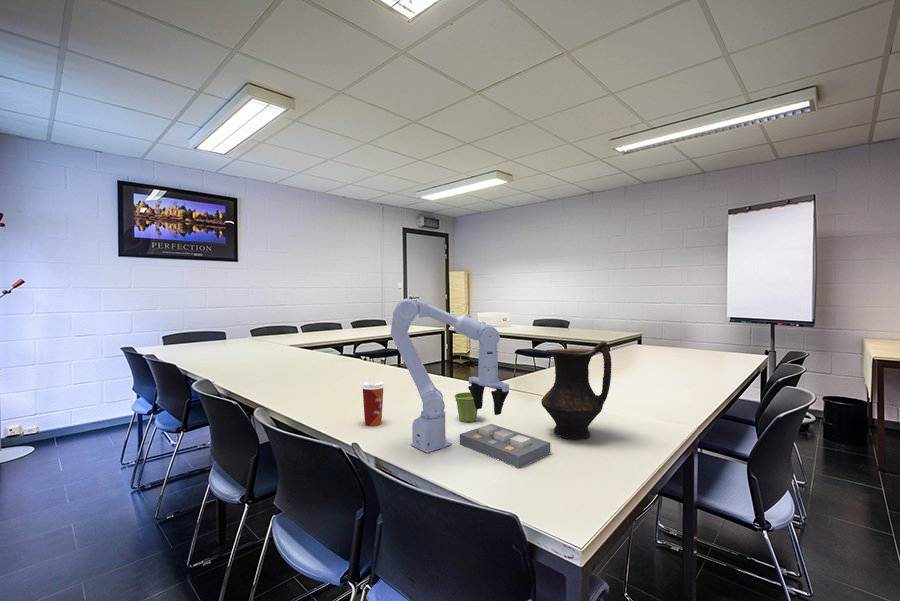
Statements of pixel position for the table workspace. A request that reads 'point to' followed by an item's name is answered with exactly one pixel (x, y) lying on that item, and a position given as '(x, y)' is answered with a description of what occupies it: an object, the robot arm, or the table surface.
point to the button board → (505, 447)
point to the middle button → (503, 436)
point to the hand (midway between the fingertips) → (488, 411)
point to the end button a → (488, 430)
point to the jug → (576, 391)
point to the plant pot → (466, 407)
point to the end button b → (520, 441)
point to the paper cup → (373, 402)
